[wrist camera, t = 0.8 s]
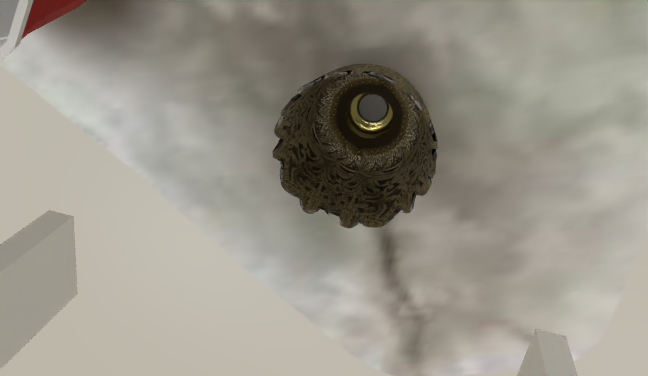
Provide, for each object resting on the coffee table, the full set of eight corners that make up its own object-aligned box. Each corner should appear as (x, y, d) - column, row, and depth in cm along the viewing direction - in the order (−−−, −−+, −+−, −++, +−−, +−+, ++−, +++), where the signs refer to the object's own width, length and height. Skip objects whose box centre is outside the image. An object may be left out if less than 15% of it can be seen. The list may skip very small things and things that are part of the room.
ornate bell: (462, 73, 30) (468, 114, 23) (406, 186, 34) (396, 253, 27) (335, 20, 31) (303, 45, 23) (292, 138, 34) (252, 191, 27)
